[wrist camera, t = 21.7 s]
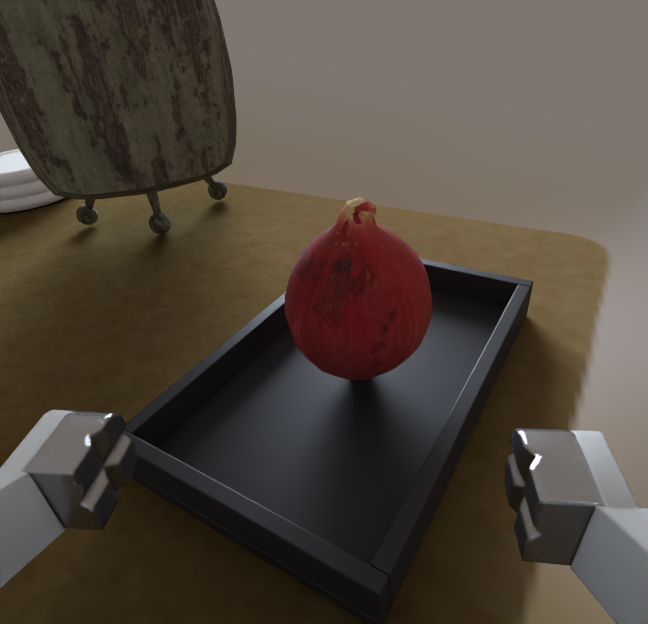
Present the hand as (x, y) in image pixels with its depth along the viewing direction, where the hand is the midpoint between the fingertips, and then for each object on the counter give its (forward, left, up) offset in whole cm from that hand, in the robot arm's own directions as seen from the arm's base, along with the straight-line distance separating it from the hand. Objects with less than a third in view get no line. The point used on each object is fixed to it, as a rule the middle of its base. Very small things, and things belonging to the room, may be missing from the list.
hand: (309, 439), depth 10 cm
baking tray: (+9, +2, -7) cm, 12 cm away
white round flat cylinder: (+25, +41, -7) cm, 49 cm away
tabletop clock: (+22, +23, -7) cm, 33 cm away
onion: (+9, +2, -7) cm, 12 cm away
